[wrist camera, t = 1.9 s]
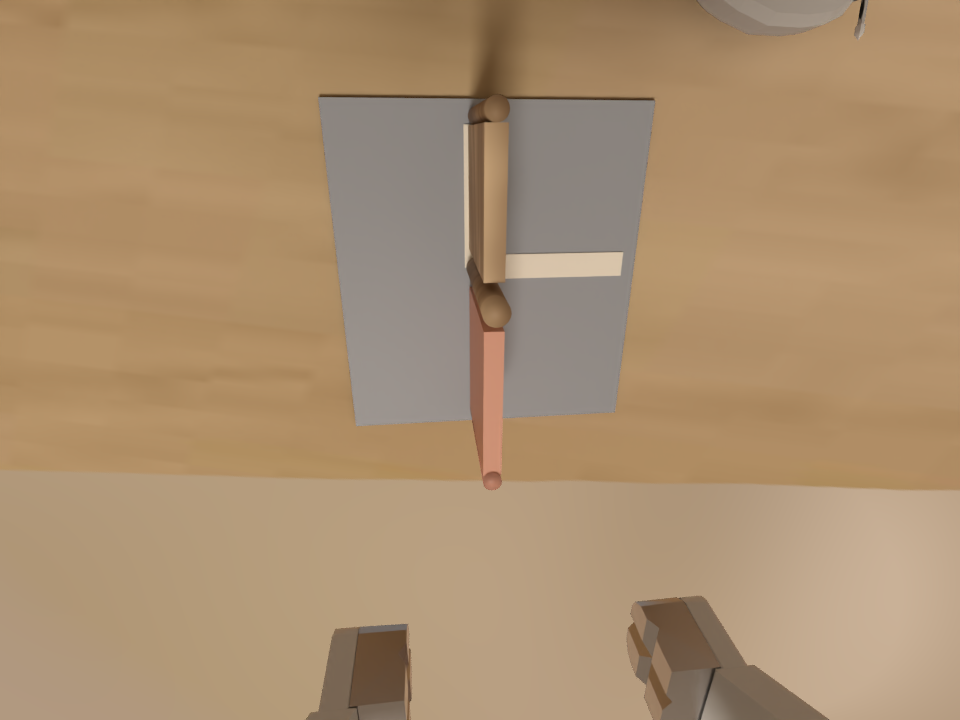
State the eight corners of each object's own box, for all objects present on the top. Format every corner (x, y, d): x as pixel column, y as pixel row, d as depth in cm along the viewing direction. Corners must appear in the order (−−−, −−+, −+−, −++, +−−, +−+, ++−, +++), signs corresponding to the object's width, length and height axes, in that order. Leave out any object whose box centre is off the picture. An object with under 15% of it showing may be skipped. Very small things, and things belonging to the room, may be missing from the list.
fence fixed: (465, 276, 37) (482, 328, 27) (464, 105, 33) (483, 92, 23) (487, 276, 37) (511, 327, 27) (488, 106, 33) (518, 92, 23)
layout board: (356, 424, 41) (356, 426, 41) (319, 97, 32) (317, 96, 31) (613, 410, 44) (615, 412, 43) (653, 100, 34) (655, 100, 33)
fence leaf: (469, 413, 42) (483, 490, 33) (469, 285, 37) (484, 333, 28) (484, 413, 42) (501, 489, 33) (485, 285, 37) (505, 333, 28)
